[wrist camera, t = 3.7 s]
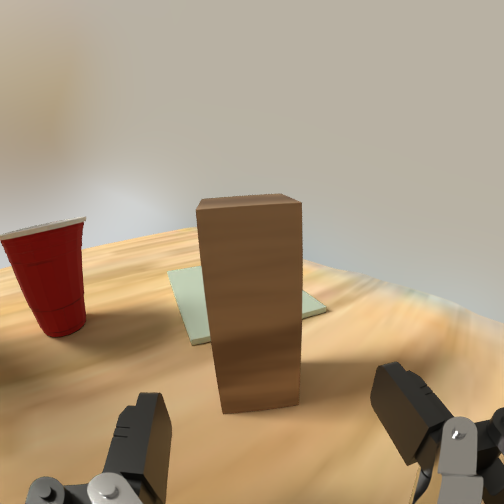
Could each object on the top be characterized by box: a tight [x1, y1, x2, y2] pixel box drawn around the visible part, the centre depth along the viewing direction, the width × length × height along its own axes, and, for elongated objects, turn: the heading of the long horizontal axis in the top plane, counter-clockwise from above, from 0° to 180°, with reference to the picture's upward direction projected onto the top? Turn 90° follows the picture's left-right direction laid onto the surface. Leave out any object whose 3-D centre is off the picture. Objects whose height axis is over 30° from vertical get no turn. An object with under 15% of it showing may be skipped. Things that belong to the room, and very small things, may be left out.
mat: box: [167, 266, 326, 345], centre depth 37 cm, size 20×14×1 cm
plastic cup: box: [0, 217, 86, 337], centre depth 27 cm, size 11×11×12 cm
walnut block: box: [196, 194, 303, 414], centre depth 18 cm, size 5×5×13 cm
